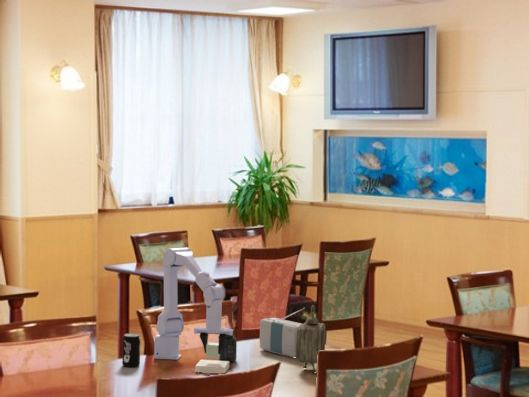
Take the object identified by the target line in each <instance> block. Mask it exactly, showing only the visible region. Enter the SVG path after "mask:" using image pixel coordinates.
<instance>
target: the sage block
mask: <svg viewBox="0 0 529 397" xmlns="http://www.w3.org/2000/svg"><path fill="white" fill-rule="evenodd" d="M218 349H219V342H208V343H207V345H206V353H205V358H206V359H213V360H215V359H217V360H219V356H220V354H218Z"/></svg>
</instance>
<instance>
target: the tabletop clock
mask: <svg viewBox="0 0 529 397" xmlns="http://www.w3.org/2000/svg"><path fill="white" fill-rule="evenodd" d="M315 308H316V306H315V305H314V304H312V305H311V307H310V316H309V317H308V318H306V320H305V322H304V323H301V325H300V326H299V327H298V329H297V338H296V358H295V359H296V360H297V361H298V362H300V363H304V365H303V366H302V369H303V368H308V367H307V365H308V363H309V364H310V365H311V367H312V369H313V370H312V373H313V372H316V370H317V369H316V368H315V364H317V355H318V351H319V350H325V351H326V323H322V322H321V323H320V322H319V321H320V320H319V319H318V318H317V317H315V310H316V309H315Z"/></svg>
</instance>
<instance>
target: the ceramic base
mask: <svg viewBox="0 0 529 397" xmlns="http://www.w3.org/2000/svg"><path fill="white" fill-rule="evenodd" d="M194 368H195V370H194V371H195V373H196V372H198V373H196V374H200V373H199V372H202V373H201V374H210V373H225V372H226V373H227V372H228V370H229V369H230V362H229V361H219V360H218V359H217V360H215V359H199V361H198V362H197V363H196V365H195V367H194ZM226 373H225V374H226Z"/></svg>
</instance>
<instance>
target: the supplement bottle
mask: <svg viewBox="0 0 529 397" xmlns="http://www.w3.org/2000/svg"><path fill="white" fill-rule="evenodd" d="M237 340H238V339H237V338H236V337H235V330H234V329H233V335H227V336H226V338H225V341H224V343H223V346H222V350H221V354H220V356H219V358H218V361H229V363H234V362H237V350H238V349H237V347H238V346H237V342H238V341H237Z"/></svg>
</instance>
